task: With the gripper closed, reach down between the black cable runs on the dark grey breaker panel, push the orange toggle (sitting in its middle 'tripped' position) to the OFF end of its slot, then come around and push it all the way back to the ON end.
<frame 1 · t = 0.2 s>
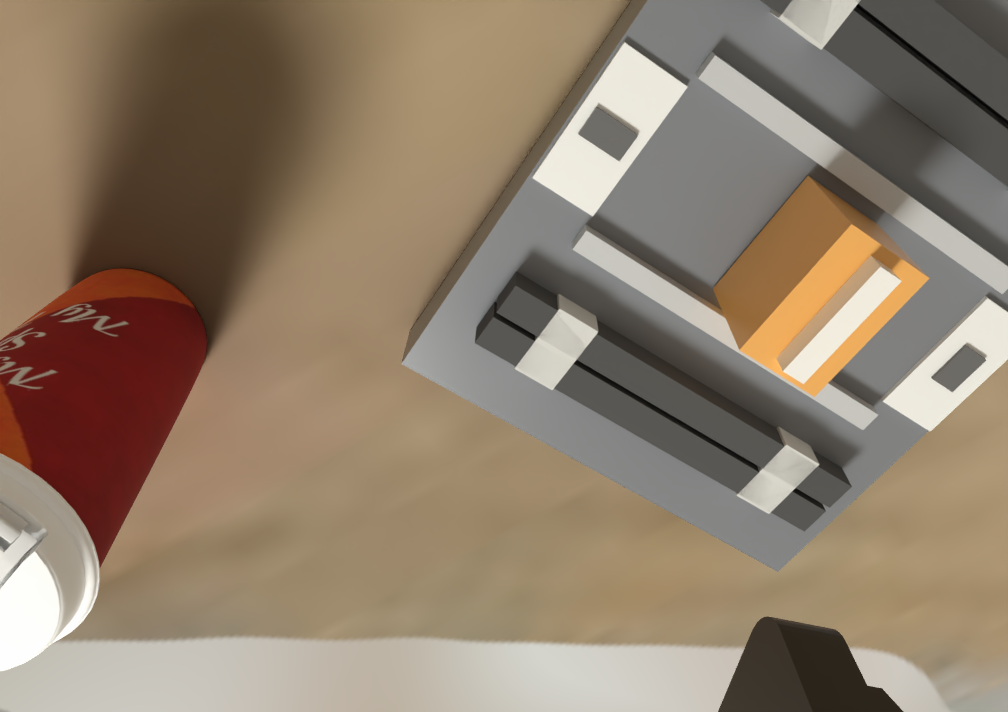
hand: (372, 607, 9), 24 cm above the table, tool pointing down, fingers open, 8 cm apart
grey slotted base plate: (774, 229, 32), resting on breaker panel
breaker panel: (774, 229, 32), on the table
paper cup: (138, 330, 35), on the table
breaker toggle: (814, 289, 28), point 5 cm above the table, slide at 0.0 cm
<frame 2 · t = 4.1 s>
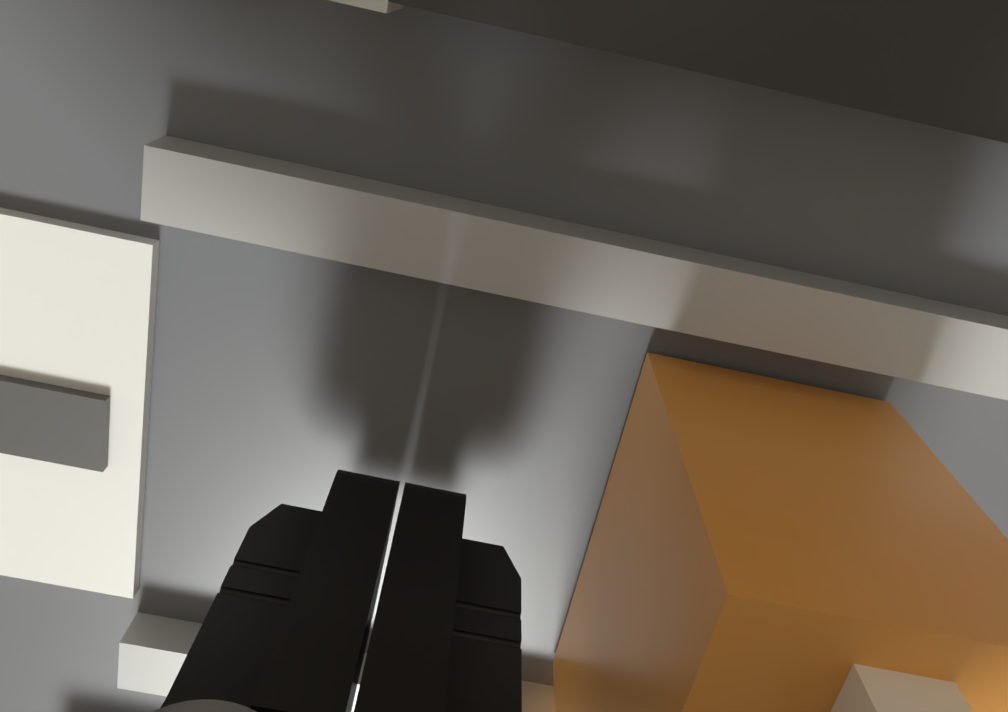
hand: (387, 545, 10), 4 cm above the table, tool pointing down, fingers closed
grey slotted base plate: (630, 434, 14), resting on breaker panel
breaker panel: (630, 434, 14), on the table
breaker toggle: (758, 692, 9), point 5 cm above the table, slide at 0.8 cm, touching gripper
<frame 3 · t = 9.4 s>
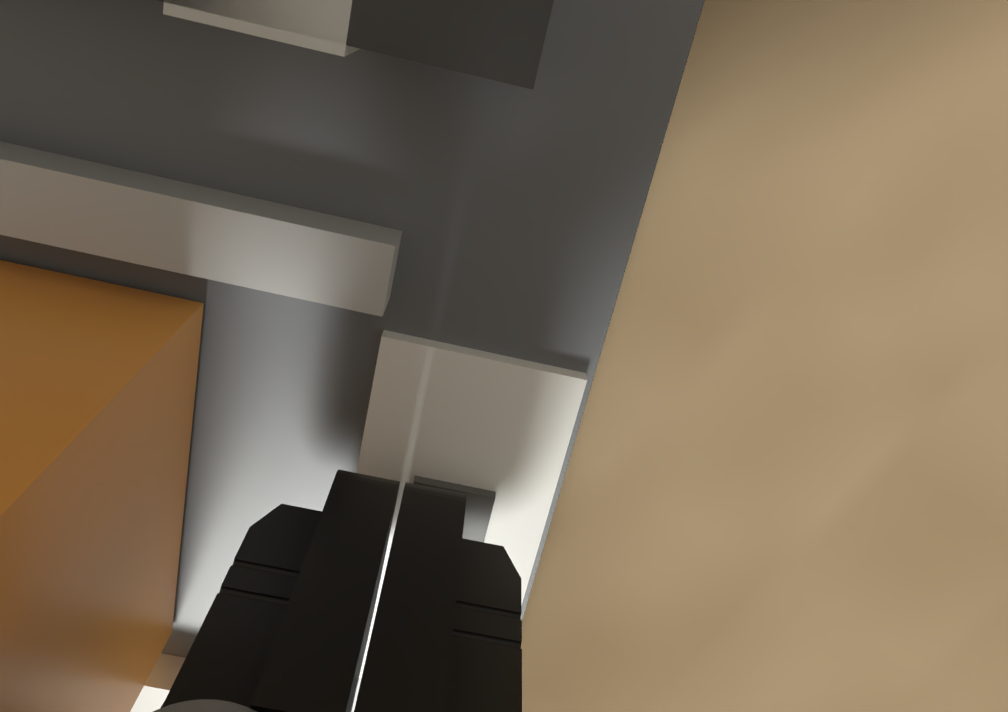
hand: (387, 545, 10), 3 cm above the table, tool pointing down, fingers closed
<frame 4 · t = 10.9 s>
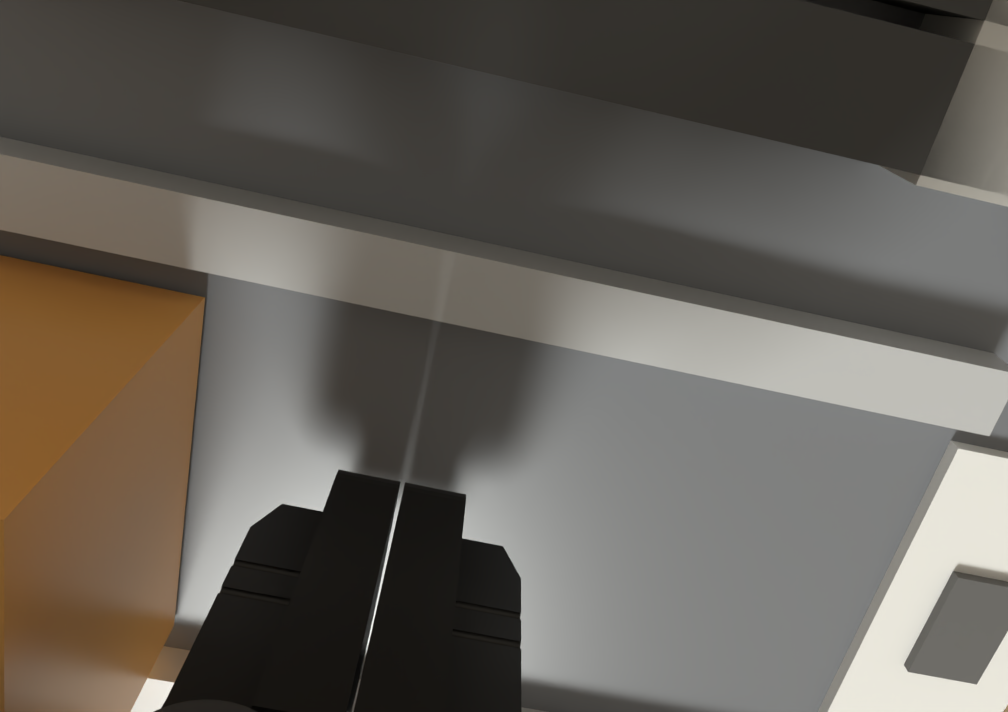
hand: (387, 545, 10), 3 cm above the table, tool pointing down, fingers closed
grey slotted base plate: (412, 417, 14), resting on breaker panel
breaker panel: (412, 417, 14), on the table
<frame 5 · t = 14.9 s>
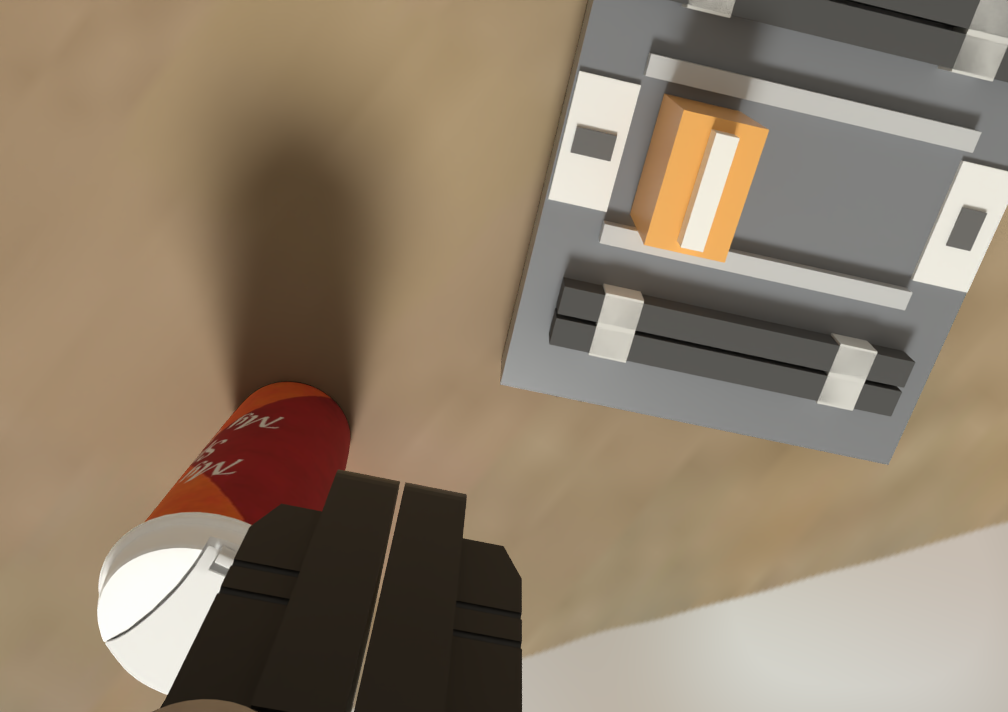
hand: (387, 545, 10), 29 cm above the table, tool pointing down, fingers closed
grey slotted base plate: (764, 172, 37), resting on breaker panel
breaker panel: (764, 172, 37), on the table
paper cup: (294, 431, 43), on the table
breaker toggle: (695, 177, 32), point 5 cm above the table, slide at -4.0 cm
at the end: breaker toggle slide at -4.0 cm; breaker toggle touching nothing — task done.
